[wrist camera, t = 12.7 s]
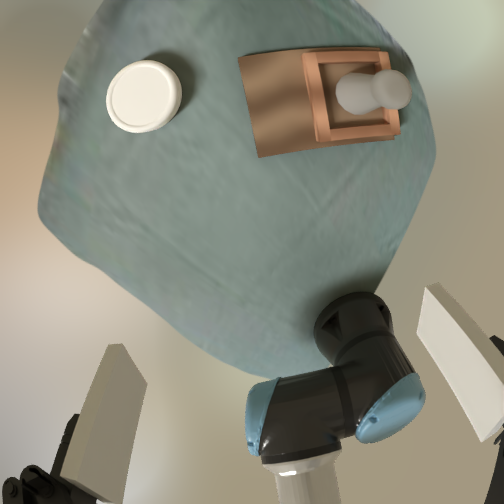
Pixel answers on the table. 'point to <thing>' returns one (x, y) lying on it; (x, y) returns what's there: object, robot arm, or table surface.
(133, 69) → the white round container
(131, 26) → the table surface
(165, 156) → the table surface
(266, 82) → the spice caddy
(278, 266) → the table surface
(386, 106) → the salt shaker
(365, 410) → the robot arm
